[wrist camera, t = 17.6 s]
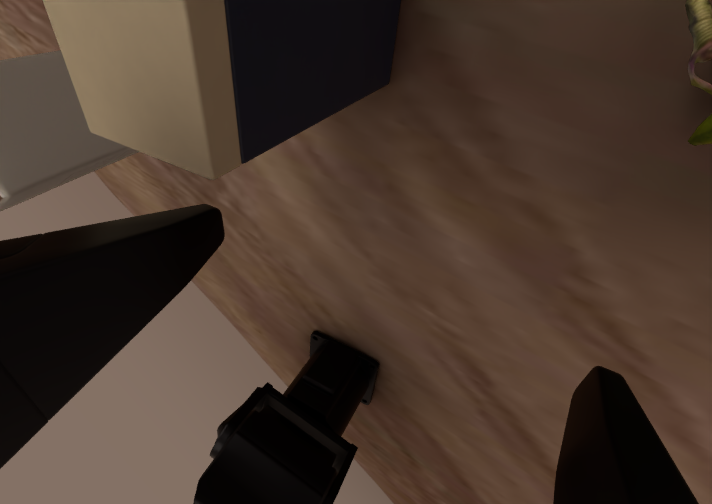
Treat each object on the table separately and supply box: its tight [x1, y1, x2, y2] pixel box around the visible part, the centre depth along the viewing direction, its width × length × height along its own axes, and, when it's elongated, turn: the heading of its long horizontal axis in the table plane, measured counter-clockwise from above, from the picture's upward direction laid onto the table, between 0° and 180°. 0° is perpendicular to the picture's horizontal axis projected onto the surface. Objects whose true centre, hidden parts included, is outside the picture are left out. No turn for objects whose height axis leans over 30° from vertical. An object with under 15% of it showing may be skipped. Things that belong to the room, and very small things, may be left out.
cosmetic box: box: [0, 50, 139, 211], centre depth 23 cm, size 6×4×12 cm
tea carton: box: [43, 0, 401, 180], centre depth 13 cm, size 12×5×6 cm
